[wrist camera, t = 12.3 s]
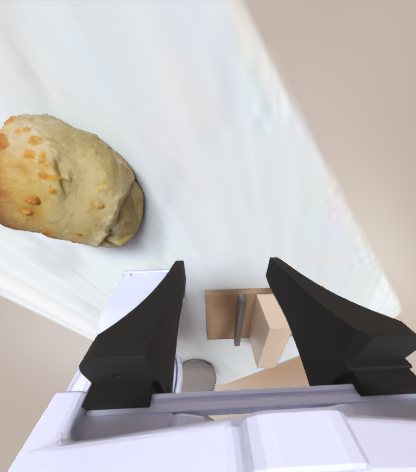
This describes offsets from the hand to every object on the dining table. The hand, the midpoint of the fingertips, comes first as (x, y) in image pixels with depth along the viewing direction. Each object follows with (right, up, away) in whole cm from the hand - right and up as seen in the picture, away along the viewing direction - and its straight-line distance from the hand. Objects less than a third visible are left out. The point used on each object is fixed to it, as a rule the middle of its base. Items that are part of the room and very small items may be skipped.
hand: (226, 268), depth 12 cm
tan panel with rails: (+9, -14, +18) cm, 25 cm away
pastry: (-16, +9, +6) cm, 19 cm away
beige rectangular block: (+9, -13, +17) cm, 24 cm away
